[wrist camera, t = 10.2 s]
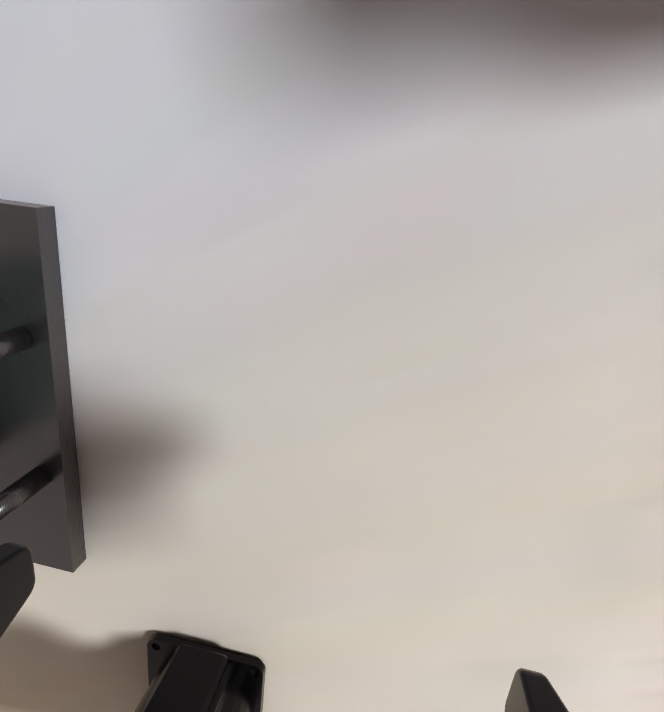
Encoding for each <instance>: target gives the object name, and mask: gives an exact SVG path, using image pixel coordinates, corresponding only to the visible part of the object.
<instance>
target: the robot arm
mask: <svg viewBox="0 0 664 712" xmlns="http://www.w3.org/2000/svg"><path fill="white" fill-rule="evenodd" d="M34 584H35V573H34V565H33V558H32V552H31V549H30V548H29V547H27V546H24V545H20V544H16V543H5V544H2V545H0V638H1V636H2V635H3V633H4V632H5V630H6V629H7V627H8V626H9V625H10V623H11V622H12V620H13V619H14V617H15V616H16V614H17V613H18V611H19V610H20V608H21V607H22V605H23V604H24V603H25V601H26V600H27V598H28V597H29V595H30V594H31V592H32V590H33V587H34ZM147 647H148V673H149V687H148V689H147V691H146V693H145V694H144V696H143V698H142V700H141V702H140V703H139V705H138V707H137V709H136V710H135V712H262V708H263V695H264V682H265V669H266V668H265V665H264V664H263V663H262V662H261V661H260V660H257V659H253V658H250V657H246V656H242V655H238V654H235V653H231V652H227V651H223V650H219V649H216V648H212V647H208V646H204V645H200V644H197V643H193V642H189V641H185V640H181V639H178V638H174V637H170V636H166V635H163V634H157V633H156V634H153V635H152V637H151V638H150V640H149V641H148V644H147ZM505 712H569V711H568V710H567V708H566V707H565V705H564V704H563V702H562V701H561V699H560V697H559V696H558V694H557V693H556V691H555V690H554V688H553V687H552V685H551V683H550V682H549V680H548V679H547V678H546V677H545V676H544V675H543V674H542V673H539V672H535V671H531V670H527V669H523V668H520V669H518V670H517V671H516V673H515V675H514V679H513V682H512V685H511V688H510V691H509V694H508V697H507V700H506V705H505Z"/></svg>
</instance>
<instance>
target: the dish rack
mask: <svg viewBox="0 0 664 712" xmlns="http://www.w3.org/2000/svg"><path fill="white" fill-rule="evenodd" d="M5 543H16V544H20V545H24V546H27V547H29V548H30V549H31V552H32V558H33V563H37V564H41V565H45V566H49V567H53V568H57V569H61V570H65V571H69V572H74V571H75V570H76V569H77V568H78V567H79V566H80V565H81V564H82V563H83V562H84V560H85V559H86V554H85V543H84V531H83V520H82V509H81V498H80V487H79V476H78V465H77V454H76V443H75V431H74V420H73V409H72V398H71V387H70V376H69V365H68V354H67V343H66V332H65V320H64V309H63V298H62V287H61V276H60V265H59V254H58V243H57V232H56V220H55V209H54V206H47V205H40V204H32V203H24V202H17V201H9V200H2V199H0V545H2V544H5Z"/></svg>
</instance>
